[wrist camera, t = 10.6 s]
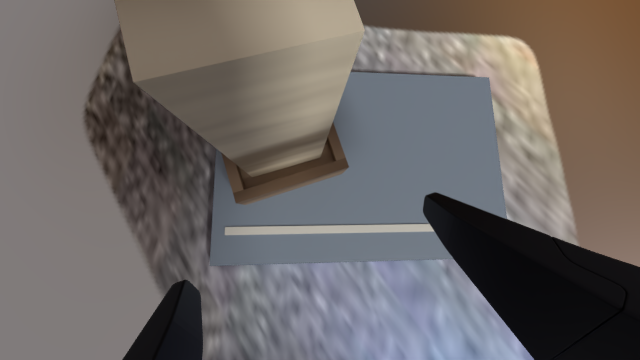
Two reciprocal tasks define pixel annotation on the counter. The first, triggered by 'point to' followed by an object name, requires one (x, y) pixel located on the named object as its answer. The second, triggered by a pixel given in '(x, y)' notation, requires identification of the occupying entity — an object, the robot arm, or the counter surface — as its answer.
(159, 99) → the beech column
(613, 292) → the robot arm
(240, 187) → the walnut block
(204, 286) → the counter surface
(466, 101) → the board
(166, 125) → the counter surface
